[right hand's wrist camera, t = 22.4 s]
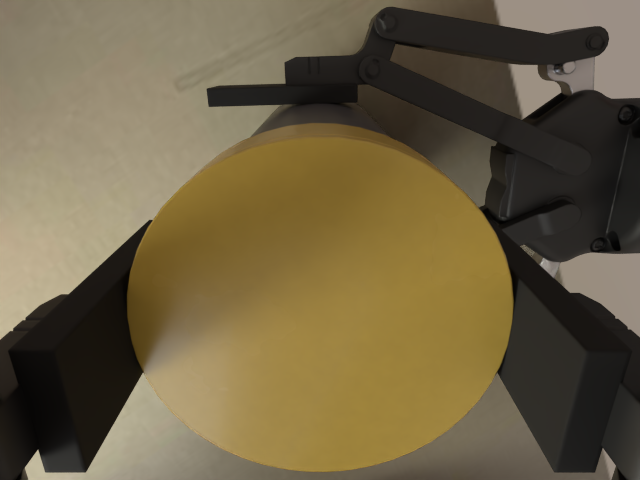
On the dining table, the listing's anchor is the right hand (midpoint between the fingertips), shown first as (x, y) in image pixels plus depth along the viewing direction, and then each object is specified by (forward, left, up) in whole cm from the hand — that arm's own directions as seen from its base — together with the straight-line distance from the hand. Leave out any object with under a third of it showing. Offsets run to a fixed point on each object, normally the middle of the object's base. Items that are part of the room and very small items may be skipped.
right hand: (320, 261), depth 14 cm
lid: (0, 0, +3) cm, 3 cm away
